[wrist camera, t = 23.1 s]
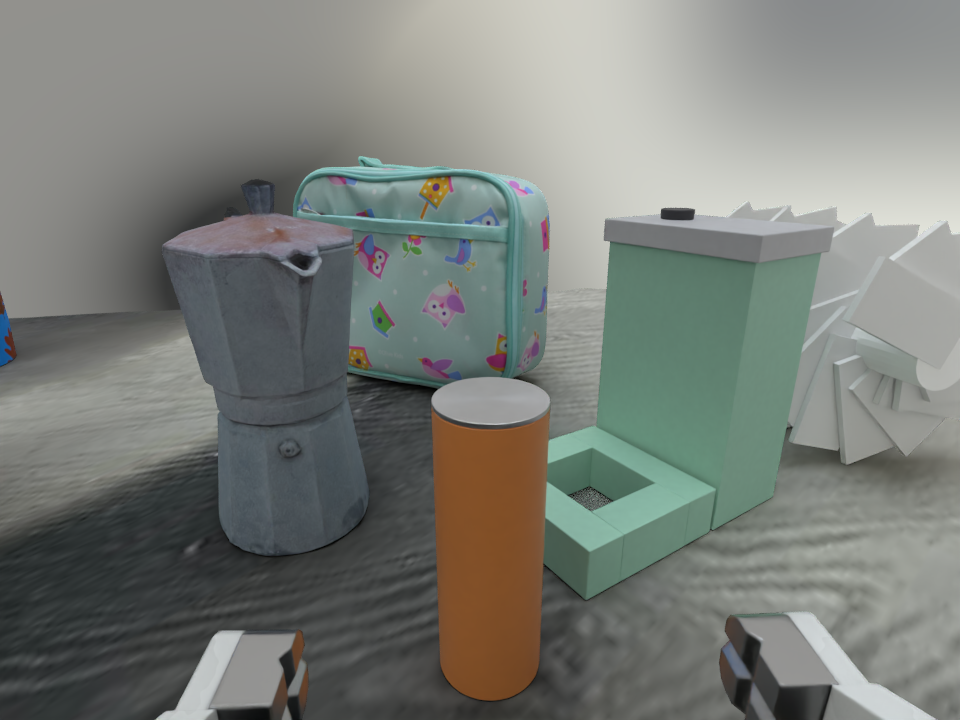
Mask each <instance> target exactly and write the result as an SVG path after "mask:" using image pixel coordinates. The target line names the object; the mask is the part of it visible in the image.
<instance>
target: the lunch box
mask: <svg viewBox="0 0 960 720" xmlns="http://www.w3.org/2000/svg"><path fill="white" fill-rule="evenodd" d="M358 161H359V164H360V167H328V168H322V169H319V170H316V171H314V172H312V173H311V174H309V175H308V176H307V177H306V178H305V179H304V180H303V182H302V183H301V185H300V187H299V189H298V191H297V193H296V196H295V200H294V205H293V217H296V218H301V219H307V220H312V221H317V222H323V223H328V224H334V225H338V226H342V227H346V228H350V229H352V230H353V234H354V264H353V281H352V298H351V317H350V341H349V362H348V372H350V373H354V374H359V375H363V376H368V377H373V378H378V379H384V380H391V381H395V382H400V383H408V384H416V385H422V386H428V387H432V388H437V389H440V388H441V387H443V386H445V385H447V384H450V383H452V382H456V381H459V380H464V379H470V378H479V377H502V378H510V379H512V378H514V377H516V376H518V375H520V374H522V373H524V372H526V371H530V370H532V369H534V368H535V367H536V366H537V365H538V364H539V363H540V361H541V359H542V357H543V354H544V350H545V344H546V325H547V286H548V285H547V284H548V262H549V227H550V225H549V213H548V206H547V203H546V199H545V197H544V195H543V193H542V192H541V191H540V189H539V188H538V187H537V186H535V185H534V184H532V183H530V182H528V181H526V180H523V179H520V178H516V177H511V176H507V175H501V174H491V173H486V172H480V171H476V170H465V169H463V170H461V169H457V170H456V169H452V168H449V167H443V166H436V167H426V168H420V167H413V166H400V165H382V163H381V162H380V160H379V159H374V158H367V157H364V156H360V157H359V158H358Z"/></svg>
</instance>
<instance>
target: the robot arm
mask: <svg viewBox="0 0 960 720" xmlns="http://www.w3.org/2000/svg"><path fill="white" fill-rule="evenodd" d="M725 632H726V634H727V636H728V638H729V639H730V640H729V641H728V642H727V643H726V644H725V645H724V646H723V647H722V648H721V653H720V661H719V665H720V673H721V679H722V682H723V685H724V688H725V691H726V693H727V695H728V697H729V699H730V701H731V703H732V704H733V705H734V706H735V707H737V708H738V709H739V710H741V711H742V712H743V713H744V714H746V716H745V720H937V719H935V718H933V717H932V716H930V715H928V714H927V713H925V712H924V711H922V710H920V709H919V708H917V707H915V706H914V705H912V704H910V703H909V702H907V701H906V700H904V699H902V698H901V697H899V696H897V695H896V694H894V693H892V692H891V691H889V690H888V689H886V688H884V687H883V686H881V685H879V684H870V683H869V682H868V681H867V680H866V678H865V677H864V676H863V675H862V673H861V672H860V671H859V670H858V668H857V667H856V666H855V665H854V664H853V662H852V661H851V660H850V659H849V657H848V656H847V655H846V654H845V652H844V651H843V650H842V649H841V647H840V646H839V645H838V644H837V642H836V641H835V640H834V639H833V637H832V636H831V635H830V634H829V632H828V631H827V630H826V629H825V627H824V626H823V625H822V624H821V623H820V621H819V620H818V619H817V618H816V616H815V615H813V614H812V613H810V612H808V611H803V612H782V613H759V614H737V615H730V616H729V618H728V619H727V621H726V626H725ZM304 646H305V644H304V638H303V633H302V631H301V630H246V631H218V632H217V633H216V634H215V635H214V636H213V637H212V639H211V641H210V643H209V645H208V647H207V649H206V650H205V652H204V654H203V656H202V658H201V660H200V662H199V664H198V666H197V668H196V670H195V672H194V674H193V676H192V678H191V680H190V682H189V683H188V685H187V687H186V689H185V691H184V693H183V695H182V697H181V699H180V701H179V703H178V705H177V707H176V709H175V711H165V712H164V713H163V714H162V715H160V716H159V717H158V718H157V719H155V720H302V719H303V715H304V711H305V707H306V702H307V694H308V666H307V663H306V662H305V661H304V660H303V659H302V658H301V656H302V652H303V649H304Z"/></svg>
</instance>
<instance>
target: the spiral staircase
mask: <svg viewBox="0 0 960 720" xmlns="http://www.w3.org/2000/svg"><path fill="white" fill-rule="evenodd" d="M836 209H837V207H829V208H824V209H820V210H816V211H811V212H807V213H803V214H799V215H793V214H792V212H791V206H780V207H773V208H766V209H759V210H753V209H752V207H751V205H750V203H749V202H744V203H743V204H741V205H740V206H739V207H738V208H737V209H735V210H734V211H732V212H731V213H730V214H729V215H727V216H726V217H728V218H740V219H752V220H764V221H776V222H788V223H801V224H813V225H825V226H834V233H833V237H832V242H831V247H830V251H829V252H823V253H821V257H820V262H819V267H818V272H817V277H816V282H815V287H814V292H813V297H812V302H811V307H810V312H809V317H808V322H807V327H806V332H805V337H804V342H803V347H802V352H801V357H800V362H799V367H798V372H797V377H796V382H795V387H794V392H793V398H792V403H791V408H790V413H789V418H788V423H787V427H791V426H792V427H793V429H792V431H791V434H790V436H789V439H788V441H790V442H791V443H794V444H800V445H806V446H812V447H818V448H824V449H830V450H836V451H838V449H839V447H840V455H841V462H842V463H844V464H845V465H848V464H851V463H853V462H856V461H858V460H861V459H863V458H866V457H869V456H871V455H874V454H876V453H879V452H881V451H884V450H887V449H889V448H892V447H895V448H896V449H897V450H898V452H899V453H900V454H902V455H904V456H906V457H907V456H908V455H909V454H910V453H911V452H912V451H913V450H914V449H915V448H916V447H917V446H918V445H919V444H920V443H921V442H922V441H923V440H924V439H925V438H926V437H927V436H928V435H929V434H930V433H931V432H932V431H933V430H934V429H935V428H936V427H937V426H938V425H939V424H940V423H941V422H942V421H943V420H944V419H945V418H950V419H955V420H960V232H958V233H951V231H950V229H949V225H948V222H947V221H938V222H937V223H935V224H934V225H933V226H931V227H930V228H929V229H927V230H926V231H925V232H923V233H922V234H921V235H919V236H918V237H917V234H918V230H919V225H883V226H881V225H880V226H875V223H874V220H873V217H872V213H864V214H863V215H861V216H860V217H858V218H857V219H855V220H853V221H852V222H850V223H849V224H847V225H846V224H844V223H842V222H839V221H837V220H836V217H837V213H836V212H837V210H836Z"/></svg>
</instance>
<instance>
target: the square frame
mask: <svg viewBox="0 0 960 720" xmlns="http://www.w3.org/2000/svg"><path fill="white" fill-rule="evenodd" d="M589 486H591V487H592V488H594V489H596V490H597V491H599V492H600V493H602V494H603V495H605V496H606V497H608V498H610V499H611V500H613V501H614V502H612V503H609V504H607V505H605V506H603V507H600V508H598V509H596V510H594V511H592V512H590V511H589V510H587V509H586V508H585V507H583V506H582V505H580V504H579V503H577V502H576V501H574V500H573V499H572V498H570V497H569V496H567V495H570V494H572V493H574V492H577V491H579V490H582V489H584V488H586V487H589ZM715 492H716V489H715V488H713V487H711V486H709V485H707V484H705V483H704V482H702V481H700V480H698V479H696V478H694V477H692V476H690V475H688V474H686V473H684V472H682V471H680V470H678V469H676V468H675V467H673V466H671V465H669V464H667V463H665V462H663V461H661V460H659V459H657V458H655V457H653V456H651V455H649V454H647V453H646V452H644V451H642V450H640V449H638V448H636V447H634V446H632V445H630V444H628V443H626V442H624V441H622V440H620V439H618V438H617V437H615V436H613V435H611V434H609V433H607V432H605V431H603V430H601V429H599V428H597V427H595V426H590V427H587V428H584V429H581V430H578V431H575V432H573V433H570V434H566V435H563V436H560V437H557V438H554V439H551V440H549V442H548V466H547V489H546V513H545V536H544V560H543V563H544V564H545V565H546V566H547V567H548V568H550V569H551V570H552V571H553V572H554V573H555V574H556V575H558V576H559V577H560V578H561V579H562V580H563V581H564V582H565V583H567V584H568V585H569V586H570V587H571V588H572V589H573V590H575V591H576V592H577V593H578V594H579V595H580V596H581V597H583V598H584V599H585V600H588V599H590V598H591V597H593V596H595V595H597V594H599V593H600V592H602V591H604V590H606V589H608V588H609V587H611V586H613V585H615V584H617V583H618V582H620V581H622V580H624V579H626V578H628V577H629V576H631V575H633V574H635V573H637V572H638V571H640V570H642V569H644V568H646V567H647V566H649V565H651V564H653V563H655V562H656V561H658V560H660V559H662V558H664V557H665V556H667V555H669V554H671V553H673V552H674V551H676V550H678V549H680V548H682V547H683V546H685V545H686V544H688V543H690V542H692V541H694V540H695V539H697V538H699V537H701V536H703V535H705V534H706V533H708V532H709V530H710V523H711V517H712V511H713V505H714V498H715Z"/></svg>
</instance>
